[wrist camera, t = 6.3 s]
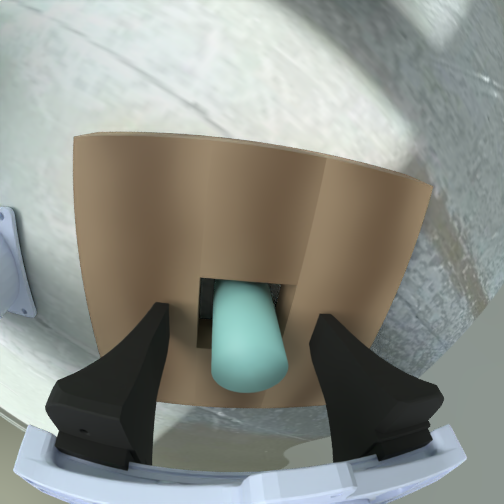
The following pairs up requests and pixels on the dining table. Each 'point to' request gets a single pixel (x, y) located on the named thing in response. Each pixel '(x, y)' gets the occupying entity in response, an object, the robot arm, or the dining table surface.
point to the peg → (246, 337)
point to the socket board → (237, 246)
